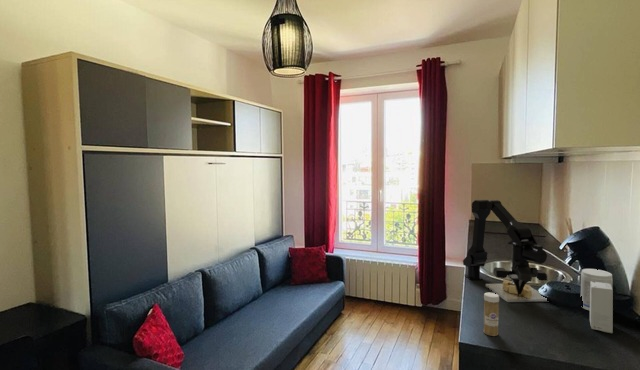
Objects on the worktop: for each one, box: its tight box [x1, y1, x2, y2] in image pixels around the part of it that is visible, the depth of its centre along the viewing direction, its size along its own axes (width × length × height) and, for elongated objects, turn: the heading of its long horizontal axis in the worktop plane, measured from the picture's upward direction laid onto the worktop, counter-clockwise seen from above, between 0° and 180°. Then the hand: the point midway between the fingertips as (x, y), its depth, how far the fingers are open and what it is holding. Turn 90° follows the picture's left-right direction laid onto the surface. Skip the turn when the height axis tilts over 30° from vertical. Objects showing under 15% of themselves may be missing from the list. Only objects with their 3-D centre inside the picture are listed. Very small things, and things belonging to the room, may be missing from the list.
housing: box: [485, 281, 548, 303], centre depth 149 cm, size 18×18×4 cm
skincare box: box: [589, 281, 614, 334], centre depth 118 cm, size 8×6×15 cm
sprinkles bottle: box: [482, 292, 500, 337], centre depth 114 cm, size 5×5×14 cm
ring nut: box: [502, 280, 532, 298], centre depth 147 cm, size 14×10×3 cm
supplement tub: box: [580, 268, 614, 312], centre depth 132 cm, size 10×10×15 cm
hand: (519, 293), depth 142 cm, fingers closed
